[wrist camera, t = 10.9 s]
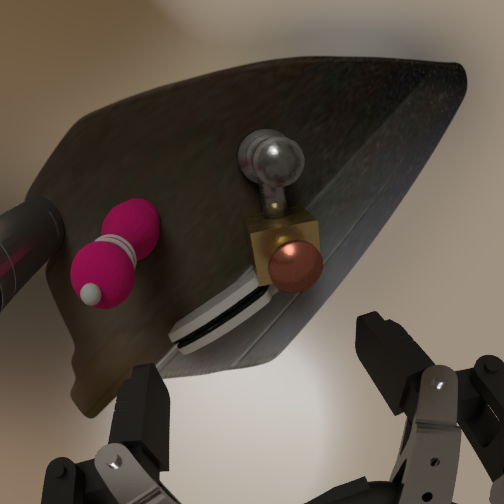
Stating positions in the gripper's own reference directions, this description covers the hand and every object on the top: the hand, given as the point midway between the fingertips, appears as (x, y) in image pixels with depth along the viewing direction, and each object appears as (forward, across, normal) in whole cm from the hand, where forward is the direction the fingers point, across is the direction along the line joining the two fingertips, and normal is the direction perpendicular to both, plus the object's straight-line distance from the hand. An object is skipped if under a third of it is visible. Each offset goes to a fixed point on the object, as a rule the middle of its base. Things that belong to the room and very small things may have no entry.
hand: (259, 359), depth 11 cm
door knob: (+28, -7, -4) cm, 29 cm away
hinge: (+31, +3, +16) cm, 35 cm away
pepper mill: (+31, +11, +1) cm, 33 cm away
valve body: (+30, -7, +2) cm, 31 cm away
